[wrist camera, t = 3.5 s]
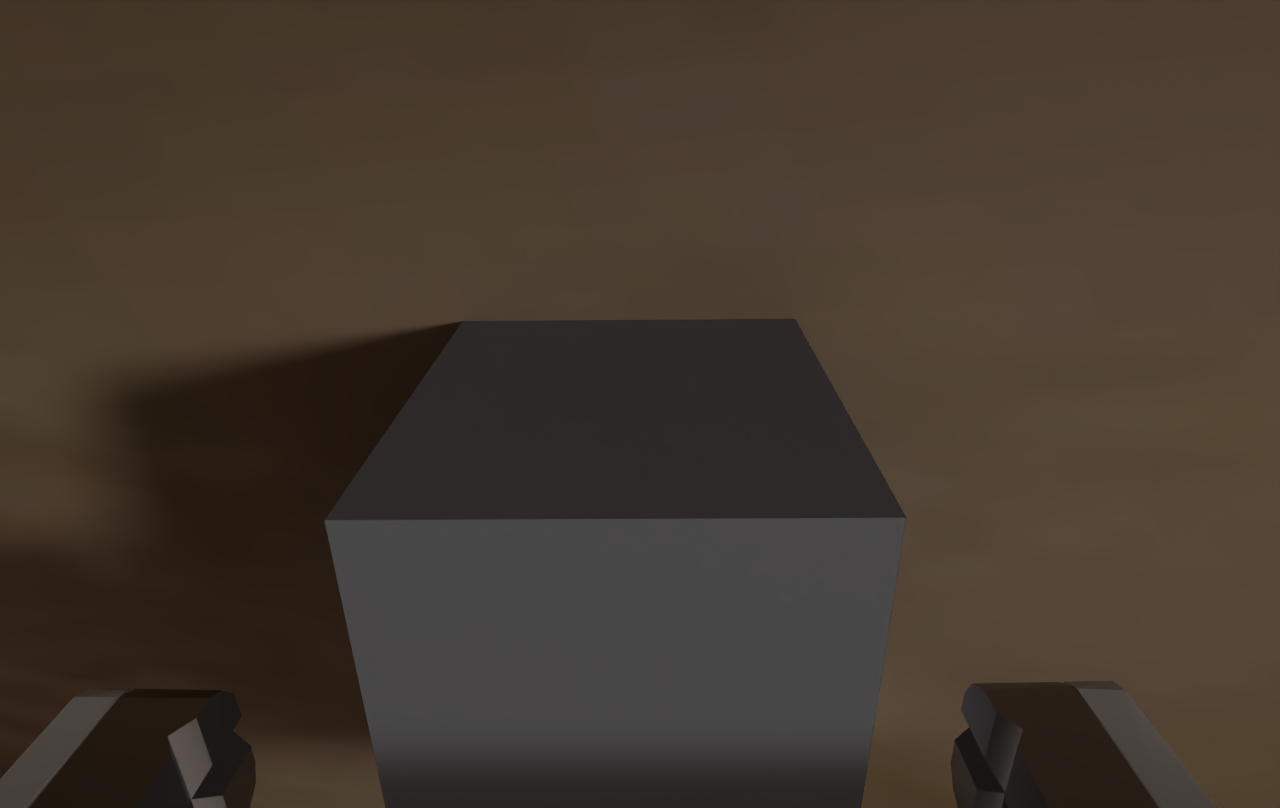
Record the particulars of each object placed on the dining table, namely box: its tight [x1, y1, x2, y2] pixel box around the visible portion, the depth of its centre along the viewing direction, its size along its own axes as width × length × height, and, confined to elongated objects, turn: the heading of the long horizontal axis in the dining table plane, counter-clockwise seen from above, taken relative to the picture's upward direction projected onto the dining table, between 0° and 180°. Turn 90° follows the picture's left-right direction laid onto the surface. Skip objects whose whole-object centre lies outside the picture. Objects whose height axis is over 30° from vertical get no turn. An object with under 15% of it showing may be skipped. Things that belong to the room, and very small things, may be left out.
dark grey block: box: [324, 319, 906, 808], centre depth 10 cm, size 4×7×5 cm, turn 0°
